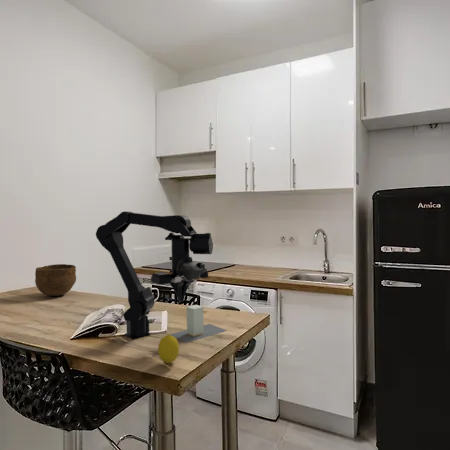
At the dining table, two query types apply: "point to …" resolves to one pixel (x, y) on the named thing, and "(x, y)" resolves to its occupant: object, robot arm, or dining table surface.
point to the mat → (208, 331)
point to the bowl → (55, 279)
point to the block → (195, 320)
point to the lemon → (168, 349)
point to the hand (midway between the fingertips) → (181, 301)
